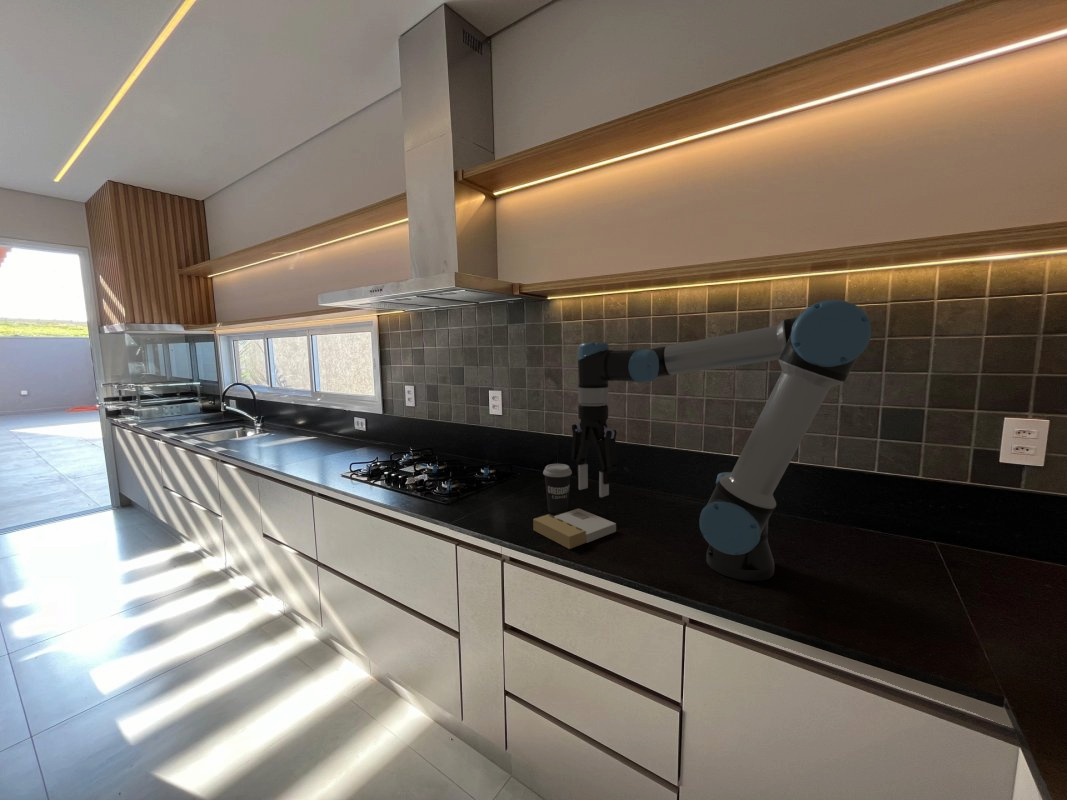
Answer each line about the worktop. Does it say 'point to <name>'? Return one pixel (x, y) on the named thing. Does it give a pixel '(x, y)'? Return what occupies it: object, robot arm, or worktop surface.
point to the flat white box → (589, 523)
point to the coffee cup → (557, 487)
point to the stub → (559, 531)
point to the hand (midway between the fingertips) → (593, 491)
